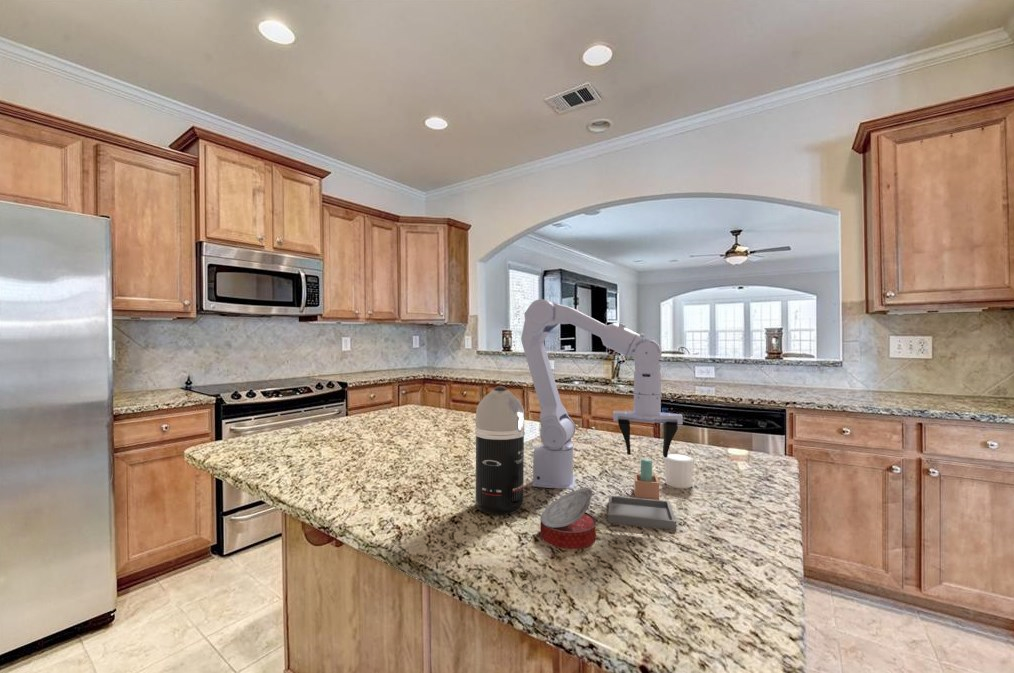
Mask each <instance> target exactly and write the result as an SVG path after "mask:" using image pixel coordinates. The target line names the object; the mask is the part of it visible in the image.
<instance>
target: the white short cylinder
mask: <svg viewBox="0 0 1014 673" xmlns="http://www.w3.org/2000/svg"><path fill="white" fill-rule="evenodd" d="M663 464H664V476H665V484H667V486H669V487H671V488H675V489H676V488H677V489H689V488H691V487H692V485H693V475H694V465H695V457H693V456H691V455H689V454H684V453H676V452H673V453H672V452H671V453H669V452H668V456H667V457H664V456H663Z"/></svg>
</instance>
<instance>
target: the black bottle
mask: <svg viewBox="0 0 1014 673" xmlns="http://www.w3.org/2000/svg"><path fill="white" fill-rule="evenodd" d="M474 430H475V432H474V435H475V489H474V490H475V498H474V499H475V505H476V507H477V509H479V510H480V511H482V512H483V513H486V514H489V515H496V516H497V515H498V516H499V515H500V516H501V515H502V516H503V515H509V514H513V513H515V512H517V511H519V510H520V509H521V508H522V506H523V504H524V483H525V482H524V480H525V479H524V470H525V468H524V467H525V465H524V464H525V463H524V460H525V459H524V458H525V452H524V451H525V434H526V432H525V408H524V407H523V405H522V403H521V401H520V400H519V399H518V398H517V397H516V396H515V395H514V394H513V393H512V392H511V391H509V390H508V389H507V388H506V387H505V386H502V385H499V386H496V387H494V388H493V390H491V391H490V392H489V393H487V394H486V395H485V396H484V397H483V398H482V399H481V400H480V402H479V403H478V405H477V407H476V410H475V429H474Z"/></svg>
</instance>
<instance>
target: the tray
mask: <svg viewBox="0 0 1014 673" xmlns="http://www.w3.org/2000/svg"><path fill="white" fill-rule="evenodd" d="M607 520H608V523H609V524H616V525H625V526H636V527H642V528H643V527H644V528H651V529H652V528H653V529H663V530H669V531H670V530H671V531H677V519H676V516H675V514H674V511H673V507H672V505H671V502H670V500H664V499H663V500H662V499H659V500H658V499H647V498H636V497H631V496H623V495H622V496H621V495H620V496H619V495H608V519H607Z"/></svg>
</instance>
